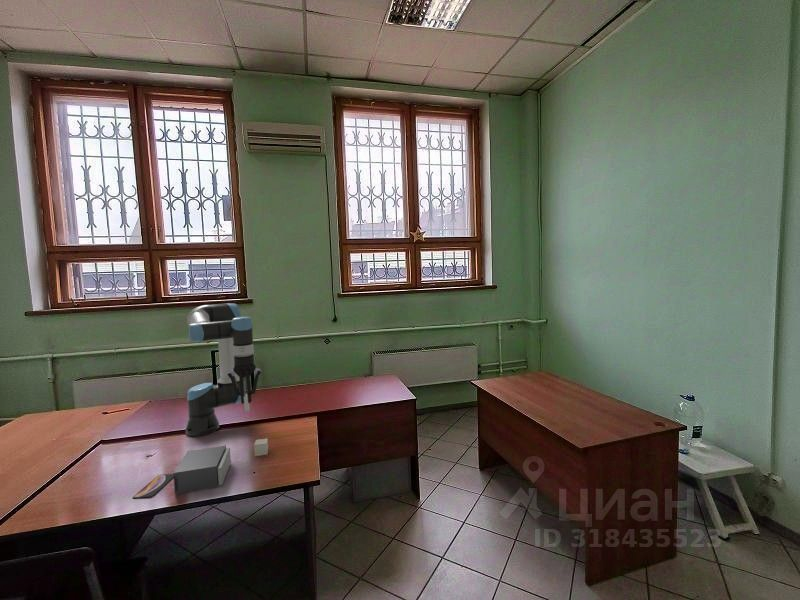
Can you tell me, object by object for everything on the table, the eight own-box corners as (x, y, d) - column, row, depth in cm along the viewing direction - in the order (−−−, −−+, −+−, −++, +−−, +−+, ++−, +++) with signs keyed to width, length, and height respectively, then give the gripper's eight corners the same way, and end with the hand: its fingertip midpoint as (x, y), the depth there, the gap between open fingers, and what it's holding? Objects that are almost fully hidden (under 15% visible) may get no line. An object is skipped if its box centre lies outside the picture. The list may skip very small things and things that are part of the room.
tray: (193, 468, 143) (192, 452, 142) (230, 462, 146) (229, 447, 146) (180, 492, 127) (179, 474, 126) (222, 484, 130) (221, 467, 130)
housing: (189, 469, 142) (188, 450, 142) (227, 463, 146) (225, 445, 146) (175, 494, 126) (173, 472, 125) (217, 486, 130) (216, 466, 129)
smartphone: (130, 498, 124) (158, 474, 139) (131, 500, 124) (158, 476, 139) (152, 496, 124) (177, 473, 139) (152, 498, 124) (177, 475, 139)
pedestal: (256, 450, 157) (255, 440, 156) (268, 449, 158) (267, 438, 158) (254, 456, 152) (254, 445, 152) (267, 454, 153) (266, 443, 153)
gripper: (224, 358, 138) (228, 415, 140) (259, 355, 142) (262, 411, 144) (228, 353, 146) (231, 409, 147) (261, 351, 149) (264, 405, 151)
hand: (247, 410), depth 146 cm, fingers closed
